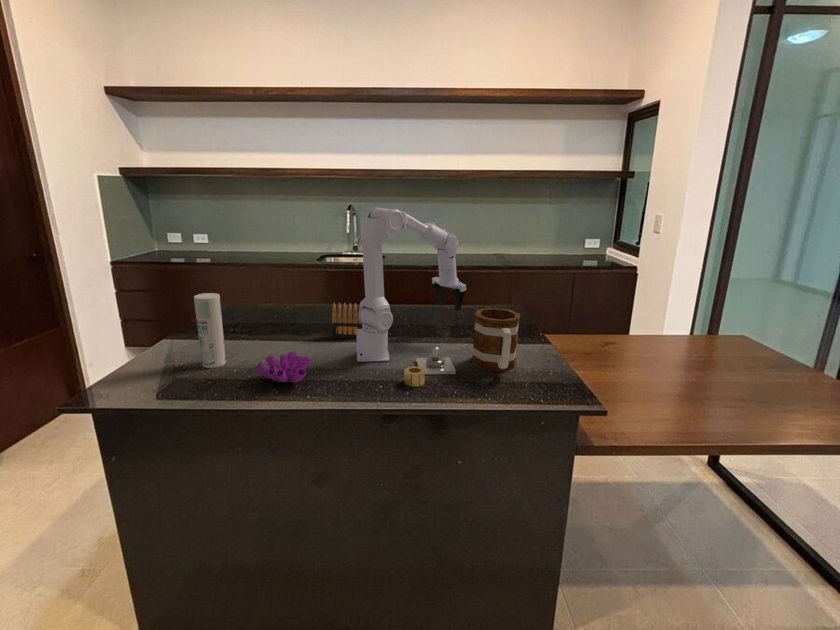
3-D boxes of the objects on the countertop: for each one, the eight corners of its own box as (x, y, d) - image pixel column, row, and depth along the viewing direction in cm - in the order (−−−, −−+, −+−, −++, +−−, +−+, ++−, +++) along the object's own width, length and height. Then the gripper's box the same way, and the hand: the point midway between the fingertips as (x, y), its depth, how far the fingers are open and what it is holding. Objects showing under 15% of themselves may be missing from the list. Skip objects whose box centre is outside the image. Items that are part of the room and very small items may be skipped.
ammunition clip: (364, 336, 160) (363, 302, 157) (363, 338, 158) (362, 303, 155) (332, 335, 160) (331, 301, 157) (331, 337, 158) (330, 302, 155)
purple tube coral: (272, 403, 119) (247, 374, 117) (290, 379, 133) (268, 353, 131) (306, 380, 117) (281, 350, 115) (320, 357, 131) (299, 331, 129)
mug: (467, 354, 146) (470, 307, 142) (510, 353, 147) (514, 307, 143) (480, 380, 127) (483, 327, 123) (528, 380, 128) (533, 327, 124)
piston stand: (419, 374, 130) (420, 353, 128) (416, 361, 139) (416, 341, 138) (455, 373, 131) (456, 353, 129) (449, 360, 141) (450, 341, 139)
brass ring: (405, 386, 122) (405, 374, 121) (403, 378, 127) (404, 366, 126) (425, 386, 123) (425, 374, 122) (423, 378, 128) (423, 366, 127)
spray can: (231, 362, 135) (224, 295, 130) (211, 369, 130) (203, 299, 124) (216, 357, 138) (209, 291, 133) (196, 364, 133) (188, 296, 127)
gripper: (471, 269, 151) (474, 308, 156) (441, 262, 161) (444, 299, 166) (456, 274, 147) (458, 314, 152) (425, 267, 157) (429, 305, 162)
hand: (450, 307), depth 159 cm, fingers open, 7 cm apart
